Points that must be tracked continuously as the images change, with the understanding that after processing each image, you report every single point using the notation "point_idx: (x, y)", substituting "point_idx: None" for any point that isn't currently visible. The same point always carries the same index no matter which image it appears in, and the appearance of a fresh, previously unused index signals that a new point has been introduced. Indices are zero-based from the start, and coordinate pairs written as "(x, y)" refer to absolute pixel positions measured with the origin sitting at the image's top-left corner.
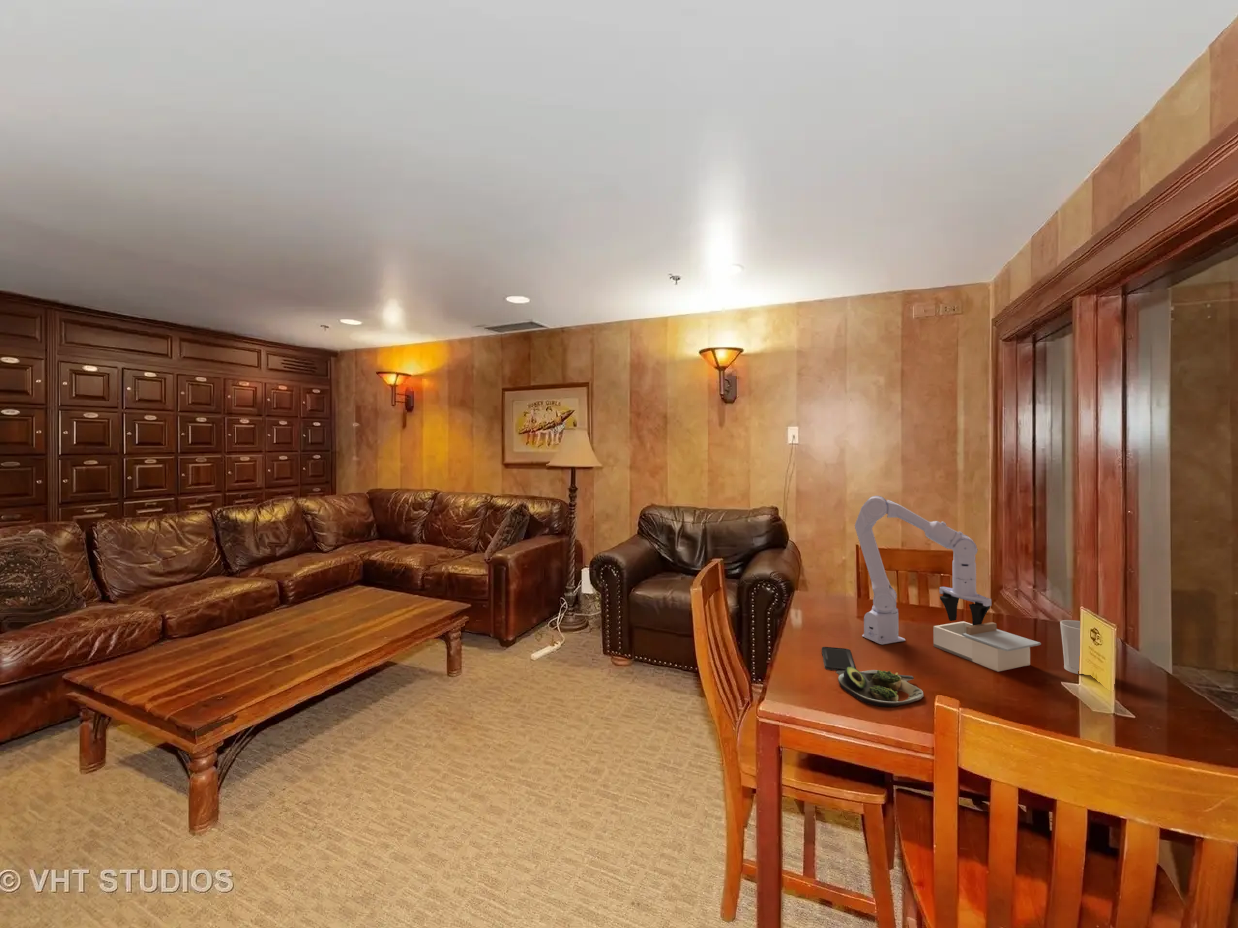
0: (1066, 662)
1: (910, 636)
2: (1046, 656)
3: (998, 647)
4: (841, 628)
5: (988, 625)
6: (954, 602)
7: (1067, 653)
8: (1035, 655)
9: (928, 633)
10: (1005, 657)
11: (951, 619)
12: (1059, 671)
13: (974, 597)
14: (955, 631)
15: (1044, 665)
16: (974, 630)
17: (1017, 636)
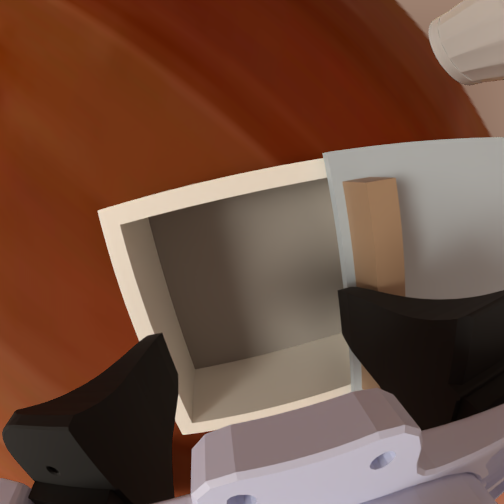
0: (470, 73)
1: (80, 382)
2: (358, 16)
3: None
4: None
5: (400, 262)
6: (133, 439)
7: (499, 74)
8: (347, 39)
9: (41, 293)
10: None
11: (174, 375)
12: (462, 110)
13: (495, 496)
14: (153, 287)
15: (427, 103)
16: None
17: (458, 154)
